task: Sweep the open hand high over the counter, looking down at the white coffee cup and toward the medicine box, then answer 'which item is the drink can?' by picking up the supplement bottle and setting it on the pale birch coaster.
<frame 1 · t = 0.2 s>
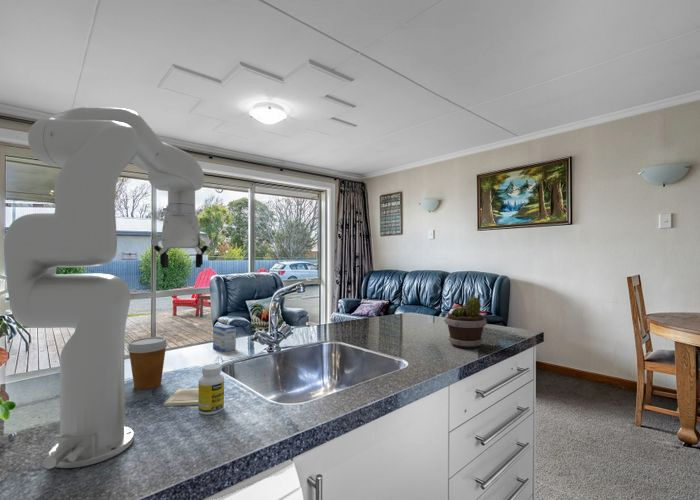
hand: (181, 267, 110), 31 cm above the countertop, tool pointing down, fingers open, 9 cm apart
coaster: (190, 397, 88), on the countertop
supplement bottle: (211, 411, 81), on the countertop
disposable coffee cup: (147, 386, 97), on the countertop
medicine box: (224, 349, 133), on the countertop
flowerpot: (465, 346, 136), on the countertop
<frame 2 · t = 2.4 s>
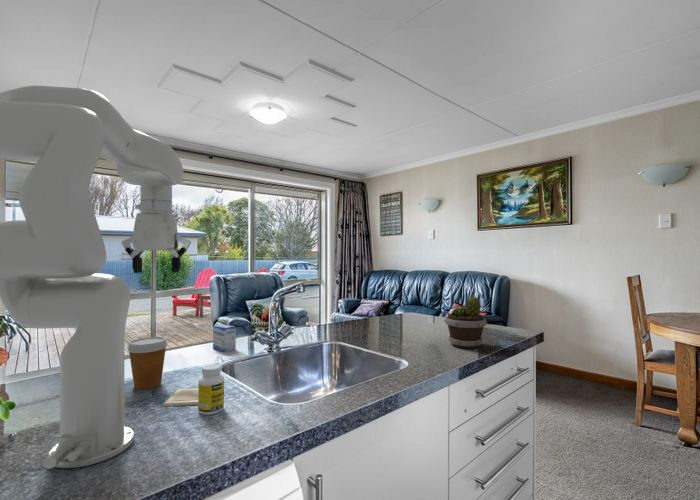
hand: (156, 272, 97), 30 cm above the countertop, tool pointing down, fingers open, 9 cm apart
nothing on the countertop moved.
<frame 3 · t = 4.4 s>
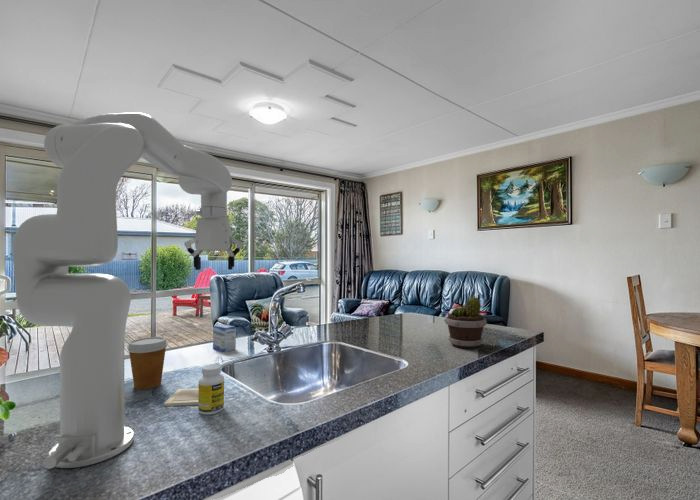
hand: (214, 269, 111), 30 cm above the countertop, tool pointing down, fingers open, 9 cm apart
nothing on the countertop moved.
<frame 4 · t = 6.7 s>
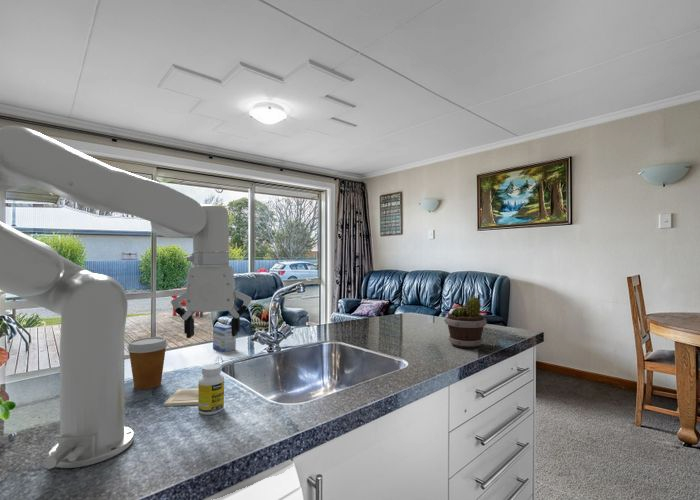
hand: (212, 335, 82), 17 cm above the countertop, tool pointing down, fingers open, 9 cm apart
nothing on the countertop moved.
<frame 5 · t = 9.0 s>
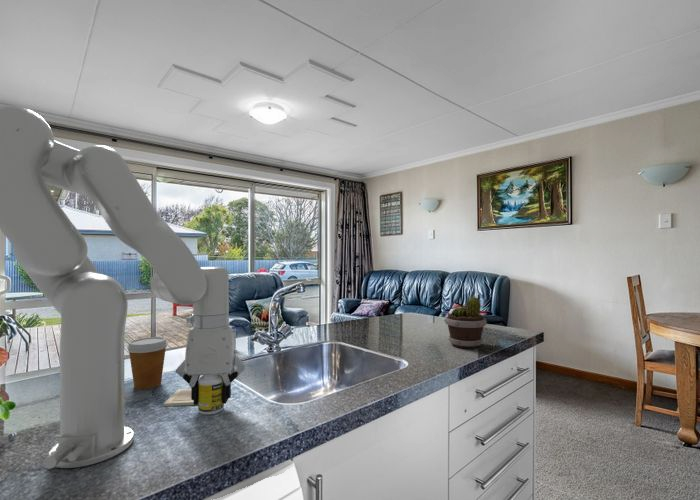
hand: (211, 401, 81), 2 cm above the countertop, tool pointing down, fingers closed on supplement bottle, 5 cm apart
supplement bottle: (211, 411, 81), on the countertop, touching gripper
everything else where it was.
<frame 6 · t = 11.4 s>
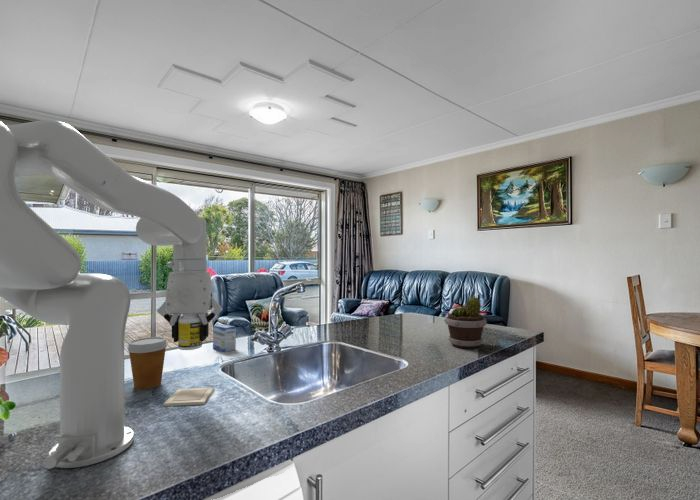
hand: (190, 339, 88), 14 cm above the countertop, tool pointing down, fingers closed on supplement bottle, 5 cm apart
supplement bottle: (190, 348, 89), point 12 cm above the countertop, touching gripper
everything else where it was.
when the fingers open (4 cm above the countertop, at t = 13.9 s): supplement bottle drops 1 cm, resting on coaster.
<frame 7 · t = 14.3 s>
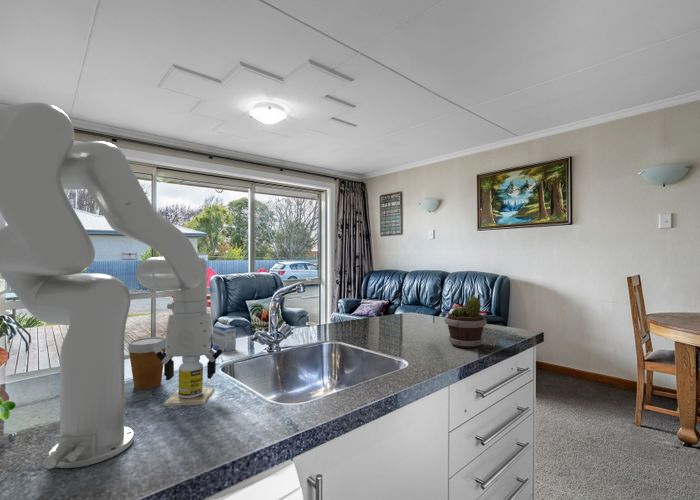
hand: (190, 377, 88), 5 cm above the countertop, tool pointing down, fingers open, 9 cm apart
supplement bottle: (190, 395, 88), point 1 cm above the countertop, touching coaster
everything else where it was.
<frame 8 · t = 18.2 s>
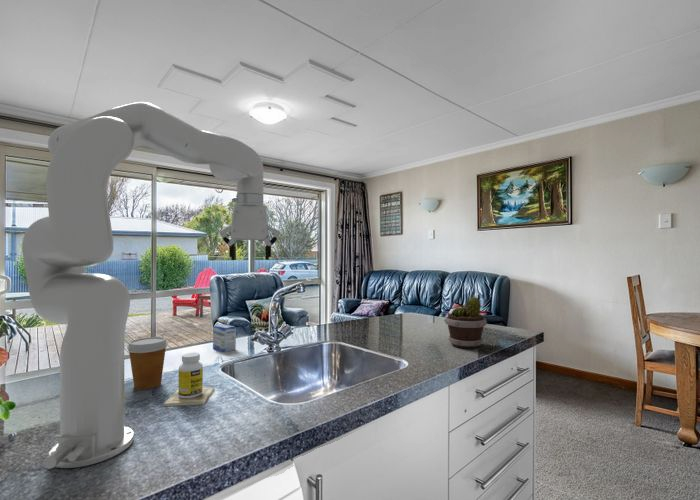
hand: (250, 259, 106), 33 cm above the countertop, tool pointing down, fingers open, 9 cm apart
nothing on the countertop moved.
at the end: supplement bottle inside the target area on the coaster (0.1 cm from its centre), point 0.5 cm above the coaster's base; supplement bottle tilted 0°; the gripper is holding nothing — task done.
